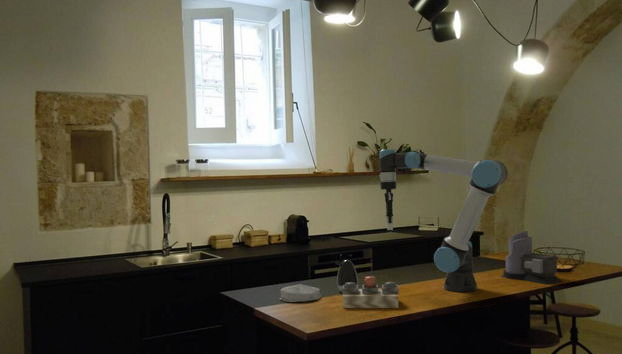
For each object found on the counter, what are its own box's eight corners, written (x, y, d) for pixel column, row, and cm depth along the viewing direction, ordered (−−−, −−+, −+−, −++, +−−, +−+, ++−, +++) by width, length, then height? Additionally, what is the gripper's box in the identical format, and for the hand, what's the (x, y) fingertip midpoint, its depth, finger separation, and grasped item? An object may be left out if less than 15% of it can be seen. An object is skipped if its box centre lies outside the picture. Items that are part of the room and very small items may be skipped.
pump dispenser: (335, 289, 266) (334, 258, 266) (356, 288, 267) (355, 257, 267) (338, 294, 256) (337, 261, 256) (360, 293, 257) (359, 260, 257)
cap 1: (355, 291, 238) (355, 282, 238) (355, 293, 233) (355, 284, 233) (345, 291, 238) (345, 282, 238) (345, 293, 234) (344, 284, 234)
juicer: (494, 276, 289) (493, 230, 289) (514, 272, 298) (513, 228, 298) (544, 285, 264) (543, 234, 264) (565, 281, 272) (563, 232, 272)
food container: (280, 294, 261) (280, 280, 261) (322, 293, 260) (321, 278, 260) (276, 305, 241) (276, 289, 241) (322, 303, 240) (321, 288, 240)
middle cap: (375, 285, 237) (375, 276, 237) (375, 287, 233) (375, 278, 233) (365, 285, 237) (364, 276, 237) (364, 287, 233) (364, 278, 233)
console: (397, 300, 241) (397, 283, 241) (399, 307, 227) (398, 289, 227) (343, 300, 243) (343, 283, 243) (342, 307, 229) (341, 290, 229)
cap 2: (395, 291, 236) (394, 281, 236) (395, 293, 232) (395, 283, 232) (384, 291, 236) (384, 281, 236) (385, 293, 232) (384, 283, 232)
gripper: (379, 181, 272) (381, 228, 272) (381, 181, 259) (383, 231, 259) (394, 180, 272) (396, 228, 272) (397, 181, 259) (399, 230, 259)
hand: (390, 229), depth 266 cm, fingers closed
